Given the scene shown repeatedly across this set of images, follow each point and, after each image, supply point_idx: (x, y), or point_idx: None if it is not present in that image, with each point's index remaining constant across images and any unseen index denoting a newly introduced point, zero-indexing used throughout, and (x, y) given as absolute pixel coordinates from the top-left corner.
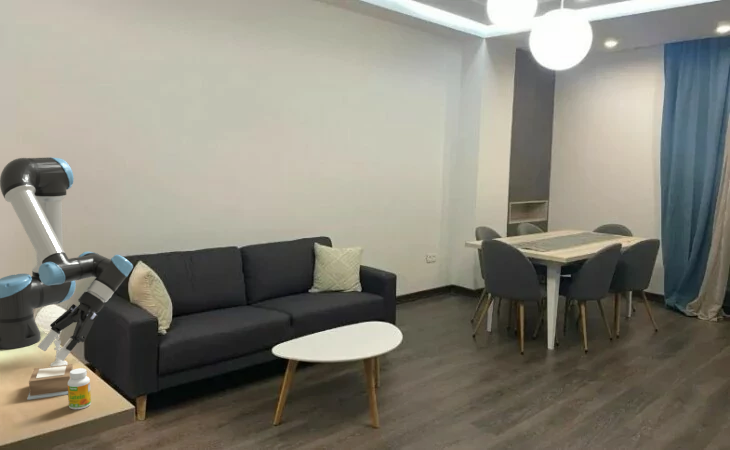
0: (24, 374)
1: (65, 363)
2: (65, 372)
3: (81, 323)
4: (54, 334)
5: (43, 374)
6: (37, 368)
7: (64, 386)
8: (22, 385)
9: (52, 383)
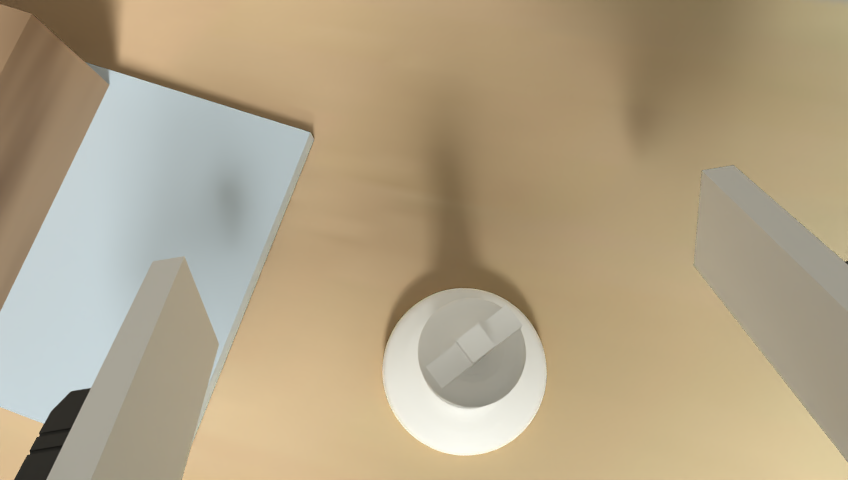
0: (424, 70)
1: (407, 422)
2: None
3: None
4: (837, 388)
5: None
6: (8, 40)
7: None
8: (172, 15)
9: None
